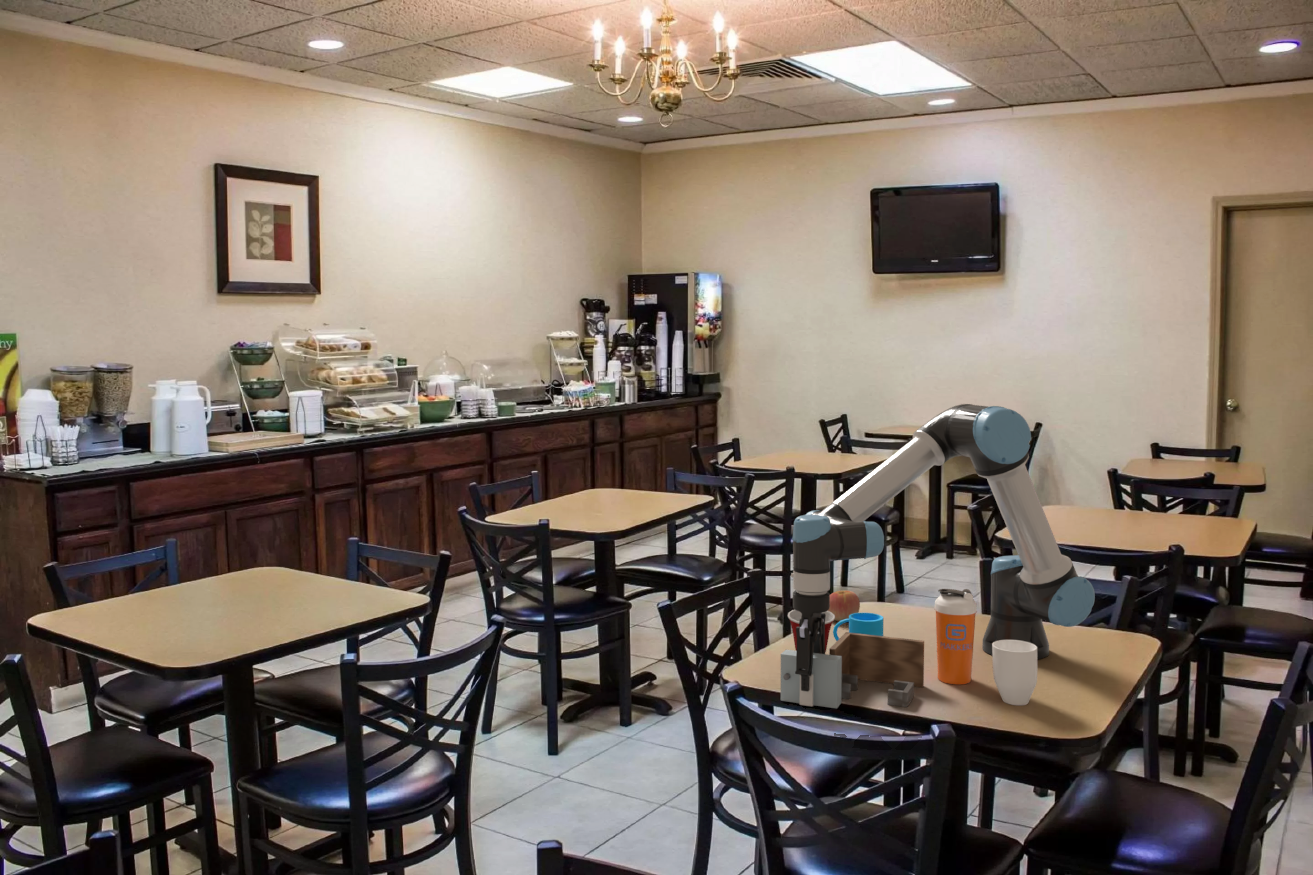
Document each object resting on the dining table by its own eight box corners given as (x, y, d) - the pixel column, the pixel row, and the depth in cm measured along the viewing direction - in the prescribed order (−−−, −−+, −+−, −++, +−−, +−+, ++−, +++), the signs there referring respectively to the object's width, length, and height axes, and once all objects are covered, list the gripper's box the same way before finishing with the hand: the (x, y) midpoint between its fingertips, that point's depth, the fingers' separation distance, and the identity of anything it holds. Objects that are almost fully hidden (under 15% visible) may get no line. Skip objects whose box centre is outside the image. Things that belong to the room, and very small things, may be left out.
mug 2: (1042, 708, 214) (1042, 651, 213) (997, 709, 215) (997, 651, 214) (1028, 689, 226) (1027, 634, 224) (985, 689, 226) (985, 635, 225)
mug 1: (883, 646, 258) (884, 613, 258) (882, 655, 251) (882, 622, 250) (834, 643, 261) (834, 610, 261) (831, 652, 253) (831, 619, 253)
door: (841, 703, 219) (841, 656, 218) (835, 710, 215) (835, 662, 214) (785, 695, 224) (785, 649, 223) (779, 702, 220) (779, 655, 219)
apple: (859, 625, 277) (860, 595, 276) (825, 624, 278) (825, 594, 278) (859, 616, 285) (859, 587, 285) (826, 615, 287) (826, 586, 286)
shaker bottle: (929, 672, 237) (930, 585, 236) (969, 672, 237) (971, 585, 235) (938, 686, 229) (940, 595, 227) (980, 686, 228) (982, 595, 226)
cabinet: (923, 685, 229) (924, 640, 228) (910, 707, 216) (910, 659, 215) (845, 675, 236) (845, 632, 235) (827, 696, 223) (828, 649, 222)
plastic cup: (790, 672, 239) (790, 620, 238) (784, 657, 250) (784, 607, 249) (838, 671, 239) (838, 619, 238) (830, 657, 250) (831, 607, 249)
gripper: (806, 579, 228) (806, 684, 230) (779, 599, 211) (779, 712, 213) (840, 582, 224) (840, 688, 227) (816, 603, 207) (815, 717, 210)
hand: (810, 699), depth 220 cm, fingers open, 6 cm apart
